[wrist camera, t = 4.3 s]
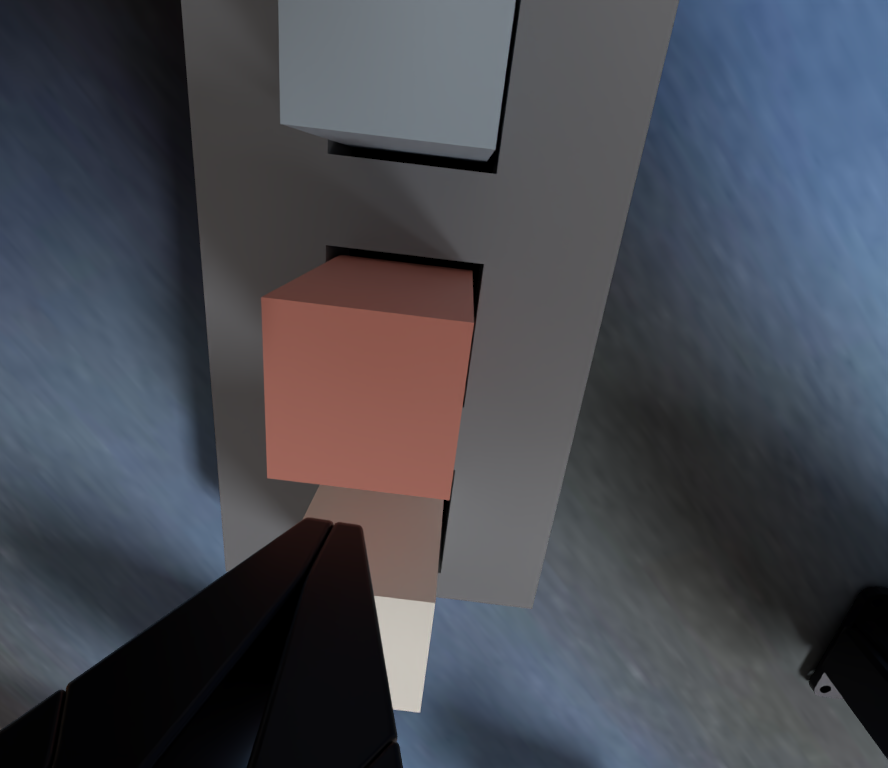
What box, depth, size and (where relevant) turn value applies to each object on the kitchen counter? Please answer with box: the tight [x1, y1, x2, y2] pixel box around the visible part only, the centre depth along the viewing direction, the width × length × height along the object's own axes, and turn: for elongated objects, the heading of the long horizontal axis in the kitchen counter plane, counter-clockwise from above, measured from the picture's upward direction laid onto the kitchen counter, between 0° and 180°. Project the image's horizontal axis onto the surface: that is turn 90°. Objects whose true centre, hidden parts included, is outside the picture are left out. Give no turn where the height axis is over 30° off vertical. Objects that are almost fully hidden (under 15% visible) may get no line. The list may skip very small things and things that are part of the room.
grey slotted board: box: [181, 0, 679, 609], centre depth 16 cm, size 12×21×3 cm, turn 174°
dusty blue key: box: [278, 0, 516, 163], centre depth 11 cm, size 4×4×6 cm
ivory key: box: [303, 485, 444, 713], centre depth 15 cm, size 4×4×6 cm
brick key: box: [261, 255, 474, 500], centre depth 13 cm, size 4×4×6 cm
